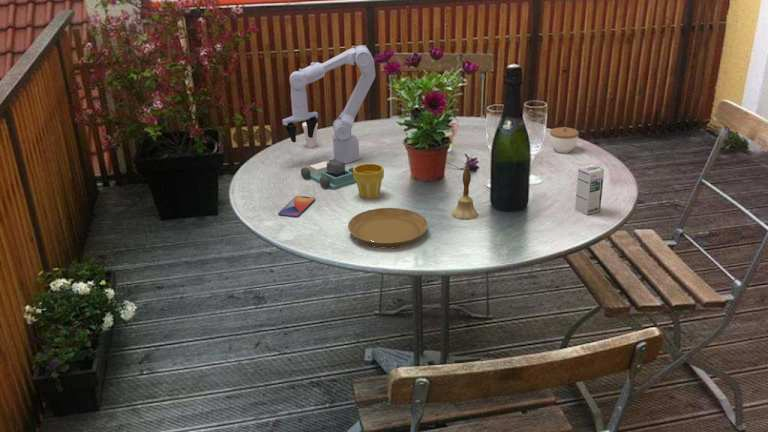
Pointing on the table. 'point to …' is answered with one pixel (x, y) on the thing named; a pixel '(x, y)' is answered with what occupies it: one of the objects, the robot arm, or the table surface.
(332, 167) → the dark grey upright block
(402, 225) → the plant saucer
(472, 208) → the hand bell
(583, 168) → the syrup box
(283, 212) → the smartphone
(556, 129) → the lidded jar
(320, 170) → the chassis
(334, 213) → the table surface
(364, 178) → the plant pot
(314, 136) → the smoothie
